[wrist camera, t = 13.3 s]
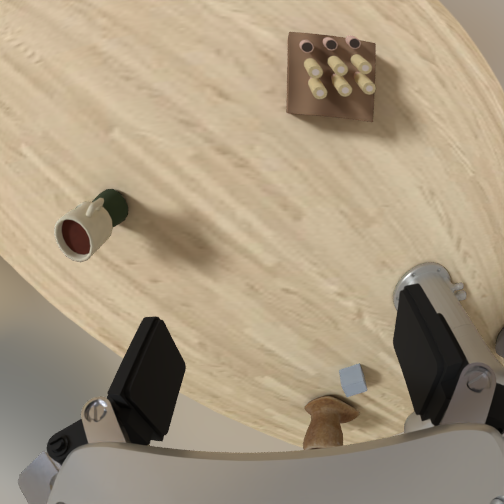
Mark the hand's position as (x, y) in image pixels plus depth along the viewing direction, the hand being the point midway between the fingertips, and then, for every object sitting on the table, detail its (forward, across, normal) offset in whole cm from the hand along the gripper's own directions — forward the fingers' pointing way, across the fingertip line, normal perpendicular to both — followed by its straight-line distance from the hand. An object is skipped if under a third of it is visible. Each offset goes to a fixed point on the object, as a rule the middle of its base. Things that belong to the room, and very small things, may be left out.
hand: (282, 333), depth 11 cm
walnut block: (+35, -9, -10) cm, 37 cm away
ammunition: (+30, -9, -12) cm, 33 cm away
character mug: (+34, +28, +2) cm, 44 cm away
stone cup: (+35, -4, +65) cm, 74 cm away
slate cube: (+34, -10, +50) cm, 62 cm away
